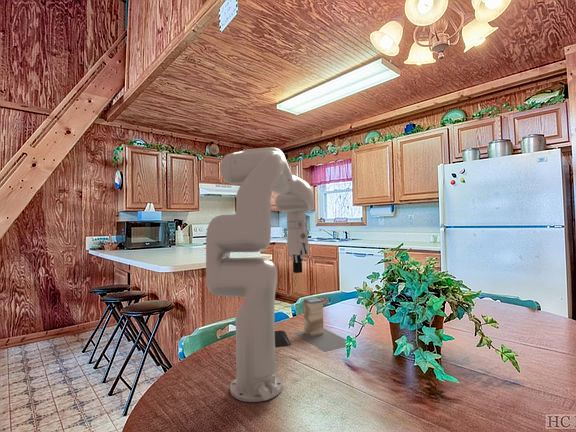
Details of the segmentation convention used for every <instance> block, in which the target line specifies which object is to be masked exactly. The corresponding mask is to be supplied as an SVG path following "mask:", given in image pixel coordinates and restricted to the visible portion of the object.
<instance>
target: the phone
mask: <svg viewBox="0 0 576 432" xmlns="http://www.w3.org/2000/svg"><path fill="white" fill-rule="evenodd" d="M291 346H292V344H291V341H290V339H289V337H288V336H287V333H286V332H285V330H275V348H281V347H283V348H284V347H291Z"/></svg>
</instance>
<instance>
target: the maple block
mask: <svg viewBox="0 0 576 432" xmlns="http://www.w3.org/2000/svg"><path fill="white" fill-rule="evenodd" d="M323 301H324V299H320V298H318V297H309V298H303V328H304V330H303V331H304V332H305V333H306V334H308V335H310V336H316V335H321V334H324V332H323V328H324V309H323V308H324V305H323Z"/></svg>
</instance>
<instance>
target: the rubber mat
mask: <svg viewBox="0 0 576 432" xmlns="http://www.w3.org/2000/svg"><path fill="white" fill-rule="evenodd" d="M323 332H324V334H321V335H316V336H310V335H308V334H306V333H305V332H304V330H302V331H297V332H294V334H295V335H296V336H298V337H300V338H301V339H302V340H304V341H306V342H307V343H310V345H311V344H312V345H313V346H314V347H316V348H318V349H320V350H321V351H322V352H325V353H326V352H331V351H335V350H339V349H342V348H346V347H345V341H346V340H347V339H346V338H344V337H342V336H340V335H338V334H336V333H334V332H332V331H330V330H328V329H326V328H324V327H323Z"/></svg>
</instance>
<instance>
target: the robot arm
mask: <svg viewBox="0 0 576 432" xmlns="http://www.w3.org/2000/svg"><path fill="white" fill-rule="evenodd" d="M220 162H221V163H220V174H221V177H222V179H223V181H225V182H226V183H227V184H229V185H233V186H238V185H239V188H238V189H237V192H236V197H235V198H236V199H235V200H236V201H235V202H236V207H235V209H236V211H235V214H221V215H217V216H214V217H213V218H212V219H211V220H210V222H209V224H208V226H207V228H206V233H205V236H206V237H205V275H206V276H205V277H206V278H205V279H206V286H207V289H208V292H210V293H211V294H212V295H214V296H217V297H233V298H234V297H235V298H237V297H239V298H243V299H244V301H243V302H242V305H240V307H239V309H238V310H237V311H236V314H235V318H234V319H235V320H234V322H235V324H234V325H235V362H236V363H235V371H236V376H235V379H233V380H232V382H231V383H230V385H229V389H230V390H229V392H230V394H231V396H232V397H233V398H235V399H236V400H237V401H241V402H245V403H247V402H248V403H259V402H260V403H261V402H264V401H268V400H271V399H273V398H275V397H277V395H279V394H280V393H281V391H282V390H283V381H282V379H281V377H279V376H278V375H277V373H276V370H277V368H276V364H277V363H276V347H275V331H276V328H275V326H276V324H275V322H276V321H275V304H276V303H275V302H276V301H275V300H276V292H277V291H276V290H277V283H278V268H277V266H276V265H275V263H274V262H273V261H272V260H270V259H267V258H263V257H230V255H231V253H259V252H263V251H266V250H267V249H268V248H269V247H270V245H271V233H272V231H271V230H272V229H271V228H272V227H271V225H272V224H271V221H272V220H271V216H272V215H271V214H272V213H271V208H272V206H271V204H272V203H271V201H272V198H271V197H272V193H273V192H274V193H276V194H278V195H277V196H276V198H275V202H274V204H275V207H276V209H277V211H279V213H283V214H286V225H287V226H286V230H287V233H286V234H287V236H286V237H287V238H286V248H287V249H286V251H287V254H289V257H291V261H292V272H293V274H301V273H303V261H304V259H306V255H308V254H309V253H310V249H309V248H310V247H309V246H310V245H309V237H308V236H309V235H308V231H307V217H306V216H307V213H309V212H312V210H313V209H314V207H315V197H314V193H313V190H312V187H311V185H310V184H309V183H308V182H307V181H305V180H303V179H302V178H300V177H299V176H297V175H294V174H293V173H292V171H291V169H290V166H289V163H288V161H287V159H286V156H285V153H284V152H283V151H282V150H281V149H280V148H277V147H272V146H271V147H260V148H250V149H249V148H248V149H243V150H240V151H235V152H231V153H227V154H226V155H225V156H224V157H223V158H222V160H221V161H220Z"/></svg>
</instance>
